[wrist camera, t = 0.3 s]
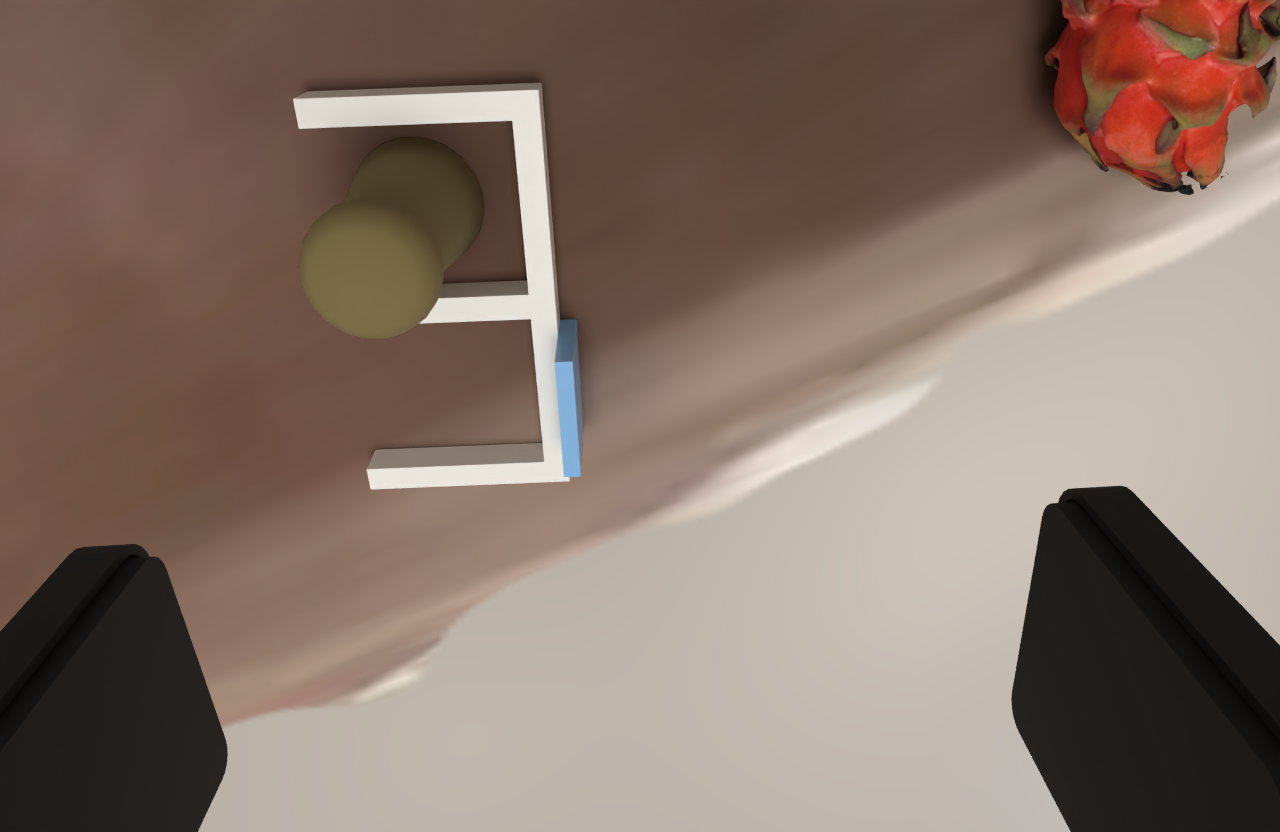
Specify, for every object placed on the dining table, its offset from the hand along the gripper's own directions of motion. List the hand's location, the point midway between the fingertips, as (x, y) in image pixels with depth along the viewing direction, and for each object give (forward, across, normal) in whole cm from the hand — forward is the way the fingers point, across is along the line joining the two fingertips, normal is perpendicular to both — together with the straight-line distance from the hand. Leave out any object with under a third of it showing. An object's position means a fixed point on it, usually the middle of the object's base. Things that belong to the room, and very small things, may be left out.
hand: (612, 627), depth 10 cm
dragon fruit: (+35, -22, -1) cm, 42 cm away
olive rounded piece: (+35, +9, +4) cm, 36 cm away
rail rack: (+35, +8, +8) cm, 37 cm away
